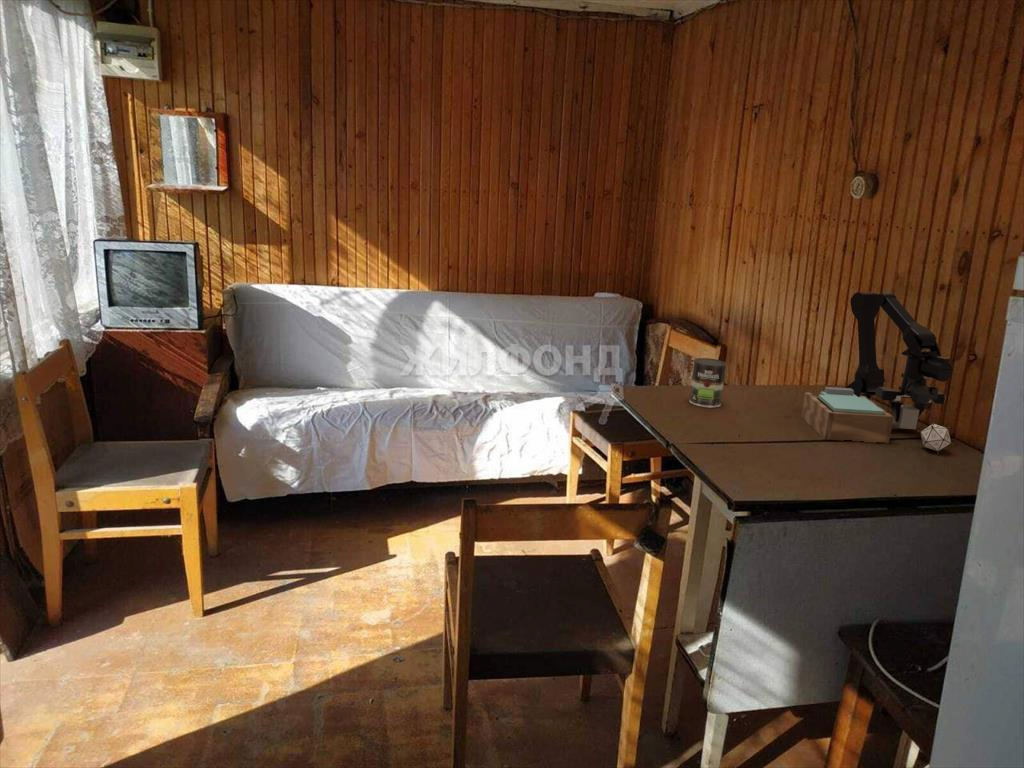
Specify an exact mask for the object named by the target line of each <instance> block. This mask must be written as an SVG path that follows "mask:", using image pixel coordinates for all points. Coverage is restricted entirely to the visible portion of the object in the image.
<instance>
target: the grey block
mask: <svg viewBox="0 0 1024 768" xmlns="http://www.w3.org/2000/svg"><path fill="white" fill-rule="evenodd" d="M918 415H919V410H918V409H917V408H915V407H914V405H911V404H910V405H908V404H902V405H901V407H900V414H899V419H898V422H896V421H895V419H893V424H892V425H895V426H896V427H897V428H899V429H906V430H908V429H909V430H916V429H917V426H918V425H917V424H918V420H919V418H918Z"/></svg>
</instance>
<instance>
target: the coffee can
mask: <svg viewBox="0 0 1024 768" xmlns="http://www.w3.org/2000/svg"><path fill="white" fill-rule="evenodd" d="M727 364H728V363H727V362H725V361H723V360H720V359H715V358H707V357H701V358H700V357H698V358H695V359H694V360H693V370H692V377H691V385H690V392H689V393H690V394H689V400H688V402H689V403H690V404H691V405H694V406H697V407H700V408H707V409H708V408H709V409H711V408H712V409H713V408H719V407H721V406H722V398H723V390H724V384H725V383H724V382H725V375H726V367H727Z"/></svg>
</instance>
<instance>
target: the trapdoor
mask: <svg viewBox="0 0 1024 768" xmlns="http://www.w3.org/2000/svg"><path fill="white" fill-rule="evenodd" d="M818 396H819V397H818V398H819V399H820V400H821V401H823V402H824V403H825V404H826V405H827V406H828V407H830V408H831V409H832V410H833V411H834V412H851V413H867V414H883V412H884V411H883V410H884V409H883V410H881V409H880V408H879V407H880V406H879V407H877V406H876V405H877V404H876V405H874V404H873V403H872V402H873V401H872V402H870V401H869V400H868V399H866V398H865V397H857V396H856V395H855V394H854V390H853V389H851V388H846V387H832V386H831V387H830V386H825V387H824V391H820V394H818Z"/></svg>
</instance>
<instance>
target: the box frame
mask: <svg viewBox="0 0 1024 768" xmlns="http://www.w3.org/2000/svg"><path fill="white" fill-rule="evenodd" d="M818 397H819V395H813V394H812V393H811V392H805V393H804V398H803V404H802V411H801V418H802V419H803V420H804V421H805V422H807V424H808V425H809V426H810V427H811V428H813V430H815V432H816V433H817V434H818V435H820V436H821V437H822V439H823V440H828V441H844V440H852V441H851V442H860V441H864V443H876V442H885V443H884V444H889V443H890V439H891V436H892V435H891V434H892V428H893V425H894V424H893V420H894V415H892V414H890V413H889V412H887V411H886V410H885V409H883V408H882V407H881V406H880V405H877V404H876V403H875V402H874V401H872V399H871V400H869V399H868V398H867V397H865V396H860V397H865V398H866V399H868V400H869V401H870V402H872V403H873V404H874V405H876V406H877V407H879V408H880V409H881V410H883V411H884V412H883V414H867V413H851V412H834V411H833V410H832V409H831V408H830V407H828V406H827V405H826V404H825V403H824V402H823V401H821V400H820V399H819V398H818Z"/></svg>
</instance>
